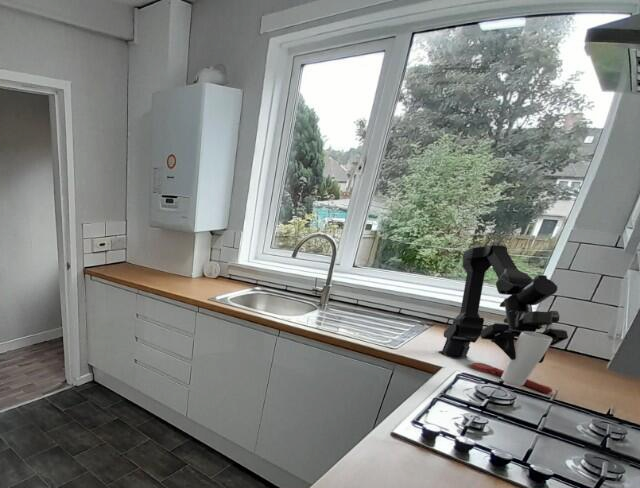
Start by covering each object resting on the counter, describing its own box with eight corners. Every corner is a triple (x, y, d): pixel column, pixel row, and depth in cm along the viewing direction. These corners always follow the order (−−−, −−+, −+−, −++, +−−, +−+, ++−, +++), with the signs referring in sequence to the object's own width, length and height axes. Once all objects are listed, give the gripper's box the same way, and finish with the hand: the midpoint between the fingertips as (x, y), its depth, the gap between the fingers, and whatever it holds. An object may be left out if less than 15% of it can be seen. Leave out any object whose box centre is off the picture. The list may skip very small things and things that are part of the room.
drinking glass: (514, 378, 123) (539, 332, 117) (532, 388, 117) (560, 340, 111) (491, 376, 124) (515, 329, 117) (508, 386, 118) (533, 338, 111)
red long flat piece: (466, 366, 142) (469, 360, 141) (479, 365, 143) (481, 359, 143) (543, 395, 122) (546, 389, 121) (556, 393, 124) (559, 387, 123)
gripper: (503, 295, 116) (510, 344, 110) (580, 302, 112) (591, 353, 107) (477, 314, 126) (482, 360, 121) (546, 321, 123) (555, 369, 117)
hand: (526, 360), depth 116 cm, fingers closed on drinking glass, 6 cm apart
